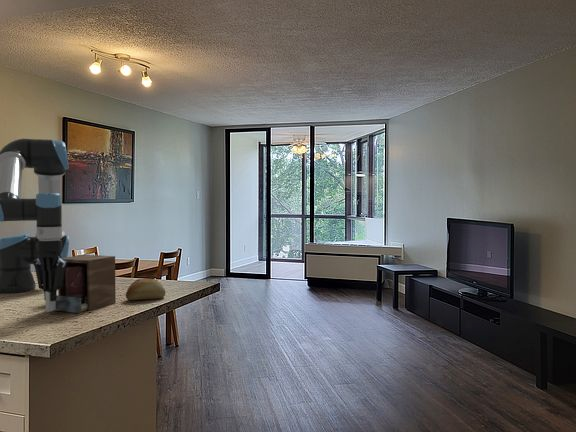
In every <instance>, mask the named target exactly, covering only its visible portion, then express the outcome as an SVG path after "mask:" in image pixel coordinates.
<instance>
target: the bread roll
mask: <svg viewBox="0 0 576 432" xmlns="http://www.w3.org/2000/svg"><path fill="white" fill-rule="evenodd" d="M125 292H126V293H125V298H126V299H127V300H128V301H140V300H141V301H142V300H155V299H156V300H157V299H160V300H161V299H163V298H164V297H165V295H166V294H167V293H166V289H165V287H164V286H163V284H162V283H161V281H159V280H157V279H155V278H150V277H149V278H139V279H136V280H135V281H132V283H131V284H130V285H129V286H128V288H127V290H126V291H125Z"/></svg>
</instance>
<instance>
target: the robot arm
mask: <svg viewBox="0 0 576 432" xmlns="http://www.w3.org/2000/svg"><path fill="white" fill-rule="evenodd" d="M68 158H69V157H68V152H67V146H66V143H65V142H64V141H63V140H55V139H43V138H42V139H37V138H35V139H34V138H33V139H32V138H19V139H15V140H13V141H9V143H7V144H6V145H4V147H2V149H0V222H18V221H21V222H22V221H23V222H24V221H25V222H27V221H28V222H29V221H30V222H31V221H34V222H35V221H36V226H35V227H36V232H35V236H31V234H30V233H21V234H14V235H9V236H7V235H6V236H4V237H1V238H0V293H2V294H11V293H13V294H14V293H22V292H29V291H32V290H35V289H36V281H37V284H38V285H37V286H38V289H39V290H43V294H44V296H43V299H44V301H45V302H44V303H45V305H44V306H45V312H53V311H57V310H56V299H57V296H58V295H57V294H58V293H57V292H58V290H59V289H61V288H62V283H63V277H64V272H65V267H66V265H67V261H63V260H62V259H61V258H66V257H69V256H68V255H69V248H70V236H69V235H67V233H66V231H65V230H64V229H63V228H62V227H63V223H62V222H63V220H62V217H63V216H62V214H63V213H62V211H63V210H62V205H63V202H62V200H63V199H62V177H63V176H64V175H65V174H66V170H69V169H70V166H69V161H68ZM24 169H33V174H34V175H36V176H37V179H38V181H37V182H38V183H37V184H38V193H37V194H36V196H35V198H21V195H22V182H23V181H22V180H23V179H22V178H23V175H22V174H23V170H24ZM31 265H33V266H34V271H35V274H36V275H35V276H36V281H35V279H34V276H33V273H32V269H31Z"/></svg>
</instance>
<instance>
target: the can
mask: <svg viewBox="0 0 576 432" xmlns="http://www.w3.org/2000/svg"><path fill="white" fill-rule="evenodd" d="M65 271H66V296H67V297H78V298H81V304H84V303H85V280H84V267H83V266H82V265H73V266H67V267H66V269H65Z"/></svg>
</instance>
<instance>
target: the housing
mask: <svg viewBox="0 0 576 432" xmlns="http://www.w3.org/2000/svg"><path fill="white" fill-rule="evenodd" d="M61 259H62V260H63V261H67V265H66V267H67V266H73V265H82V266H83V267H84V280H85V297H88V310H87V311H88V312H92V311H94V310H97V309H101V308H104V307H107V306H111V305H114V304H117V303H116V294H117V293H116V255H114V256H113V255H98V254H81V255H73V256H67V257H66V258H61ZM66 267H65V269H66ZM57 292H58V293H57V294H58V295H57V296H66V271H65V272H64V277H63V283H62V288H61V289H59V290H57Z"/></svg>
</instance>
